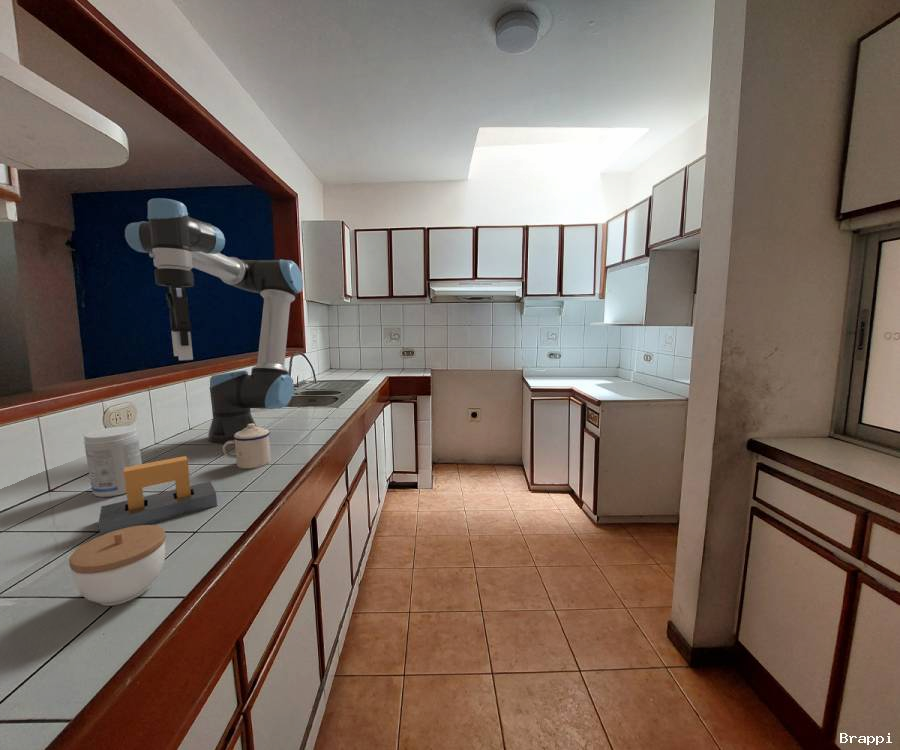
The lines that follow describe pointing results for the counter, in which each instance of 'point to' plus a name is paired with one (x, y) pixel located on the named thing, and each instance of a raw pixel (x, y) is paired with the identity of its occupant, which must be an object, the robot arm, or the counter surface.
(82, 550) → the lidded jar
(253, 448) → the teacup with lid
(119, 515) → the graphite rail
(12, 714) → the counter surface
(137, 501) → the orange clip
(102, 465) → the supplement tub
